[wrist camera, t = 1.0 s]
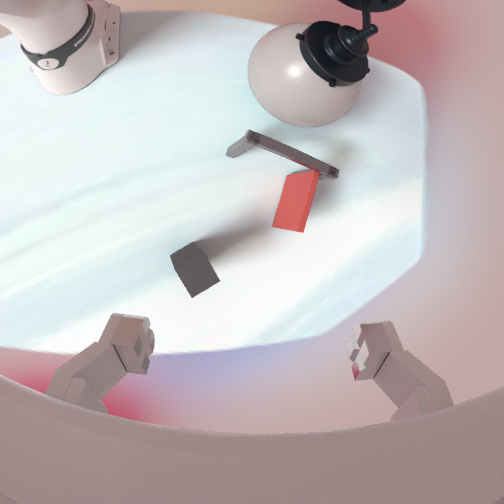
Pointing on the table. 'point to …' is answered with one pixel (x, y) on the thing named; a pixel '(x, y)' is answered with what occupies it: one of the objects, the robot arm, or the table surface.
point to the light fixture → (313, 67)
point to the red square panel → (296, 201)
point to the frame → (282, 153)
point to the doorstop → (194, 269)
